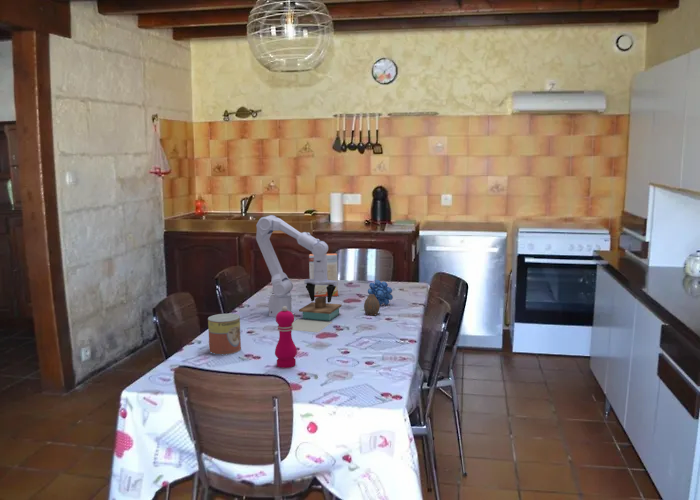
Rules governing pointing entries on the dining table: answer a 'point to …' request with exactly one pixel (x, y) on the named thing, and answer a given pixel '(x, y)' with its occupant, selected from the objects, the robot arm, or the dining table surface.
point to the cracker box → (331, 274)
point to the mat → (309, 325)
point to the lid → (320, 306)
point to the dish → (320, 315)
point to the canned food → (224, 333)
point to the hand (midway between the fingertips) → (321, 301)
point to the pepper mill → (285, 340)
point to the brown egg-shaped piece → (371, 305)
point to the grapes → (381, 292)
